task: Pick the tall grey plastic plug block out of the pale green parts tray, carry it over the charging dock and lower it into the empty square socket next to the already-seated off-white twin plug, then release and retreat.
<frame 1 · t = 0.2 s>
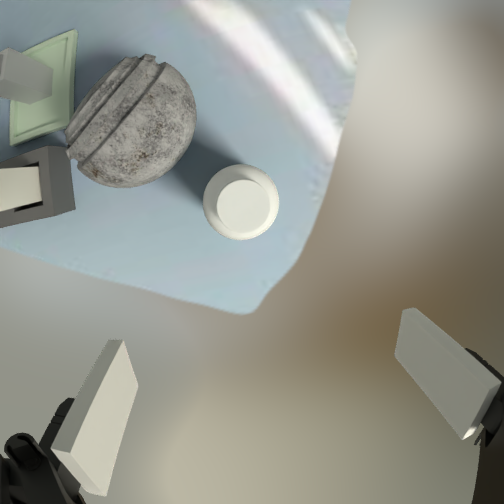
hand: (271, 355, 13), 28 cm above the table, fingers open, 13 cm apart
tray: (42, 87, 30), on the table
pill bottle: (236, 194, 38), on the table
charging dock: (27, 189, 34), on the table
plug: (41, 86, 30), point 1 cm above the table, touching tray
decorative orb: (147, 130, 35), on the table
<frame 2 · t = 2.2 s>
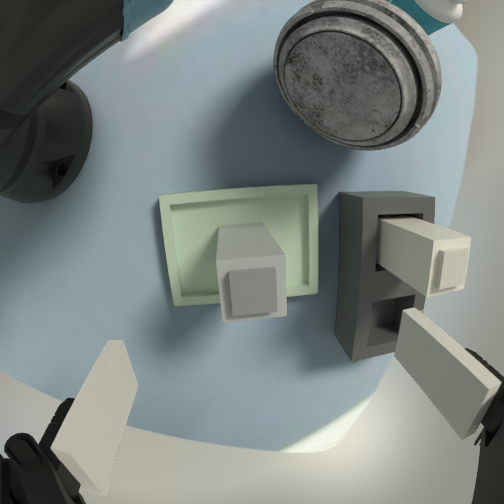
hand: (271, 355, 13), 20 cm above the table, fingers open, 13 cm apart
tray: (241, 243, 32), on the table
pill bottle: (392, 23, 26), on the table
charging dock: (372, 265, 34), on the table
plug: (242, 245, 31), point 1 cm above the table, touching tray
decorative orb: (332, 87, 28), on the table
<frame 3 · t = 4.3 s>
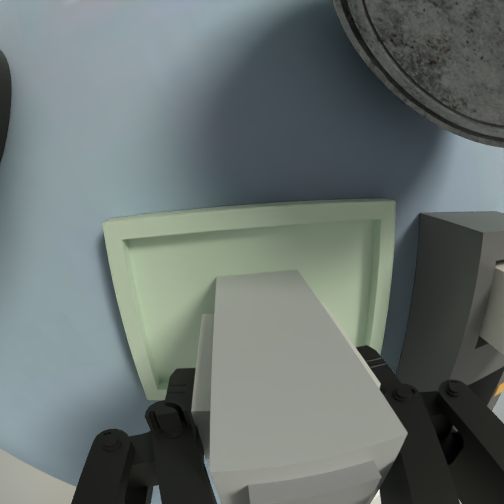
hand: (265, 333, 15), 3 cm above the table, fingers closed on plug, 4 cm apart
tray: (258, 305, 18), on the table
charging dock: (447, 321, 20), on the table
plug: (259, 309, 17), point 1 cm above the table, touching gripper, tray
decorative orb: (403, 42, 14), on the table
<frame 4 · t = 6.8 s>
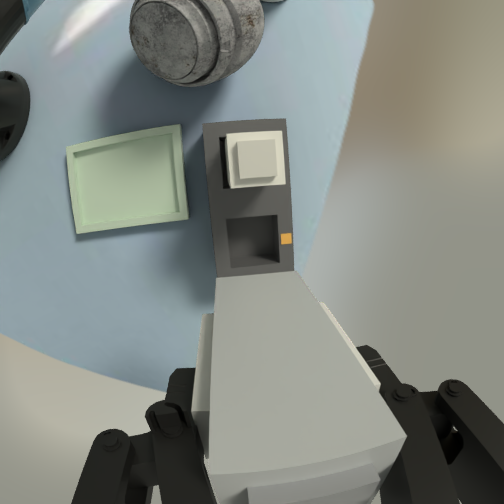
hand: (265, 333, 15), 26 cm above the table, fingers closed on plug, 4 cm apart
tray: (125, 179, 35), on the table
charging dock: (246, 196, 38), on the table
plug: (259, 310, 17), point 23 cm above the table, touching gripper
decorative orb: (200, 48, 32), on the table
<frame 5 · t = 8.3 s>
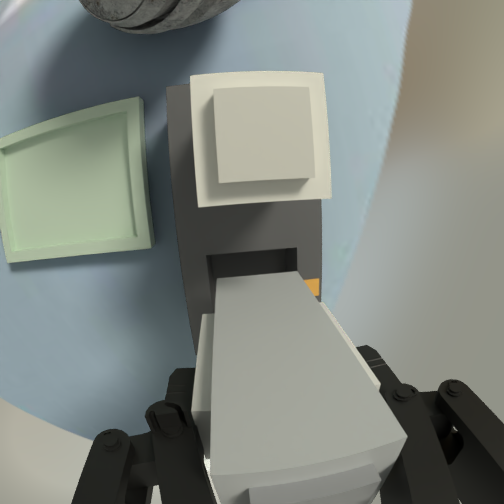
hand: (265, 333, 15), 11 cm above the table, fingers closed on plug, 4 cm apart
tray: (64, 185, 22), on the table
charging dock: (243, 211, 24), on the table
plug: (259, 311, 17), point 8 cm above the table, touching gripper
when the fingers open (7 cm above the table, at t = 9.4 s): plug drops 2 cm, resting on charging dock.
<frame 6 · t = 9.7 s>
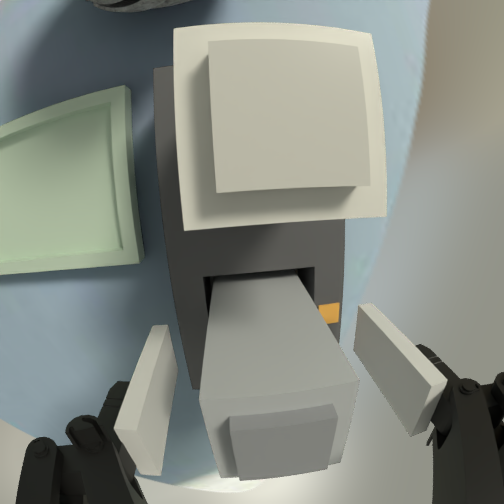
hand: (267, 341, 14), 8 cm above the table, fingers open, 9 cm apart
tray: (43, 190, 18), on the table
charging dock: (248, 219, 20), on the table
plug: (253, 293, 19), point 2 cm above the table, touching charging dock
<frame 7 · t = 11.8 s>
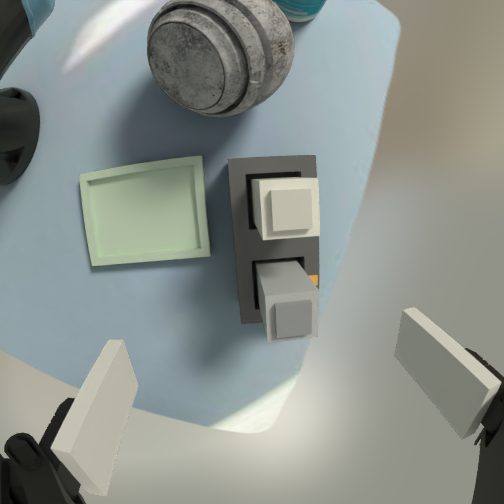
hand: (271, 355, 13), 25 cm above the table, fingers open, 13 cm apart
tray: (143, 211, 35), on the table
pill bottle: (292, 4, 29), on the table
charging dock: (270, 232, 37), on the table
plug: (273, 272, 36), point 2 cm above the table, touching charging dock
decorative orb: (222, 71, 32), on the table
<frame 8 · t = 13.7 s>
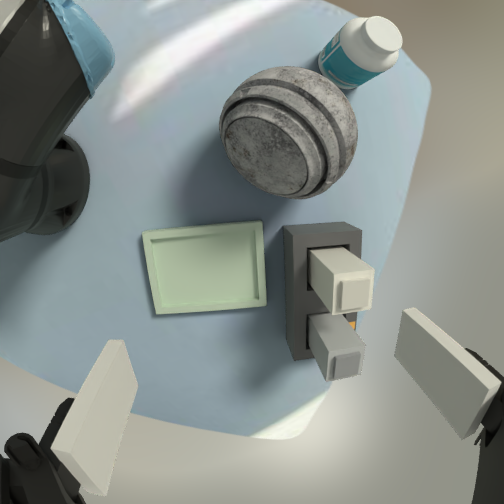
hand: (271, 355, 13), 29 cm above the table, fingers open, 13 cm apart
tray: (206, 267, 41), on the table
pill bottle: (340, 67, 35), on the table
charging dock: (314, 283, 43), on the table
plug: (317, 317, 43), point 2 cm above the table, touching charging dock
decorative orb: (278, 138, 37), on the table
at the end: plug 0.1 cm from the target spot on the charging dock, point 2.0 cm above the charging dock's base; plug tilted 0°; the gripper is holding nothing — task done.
